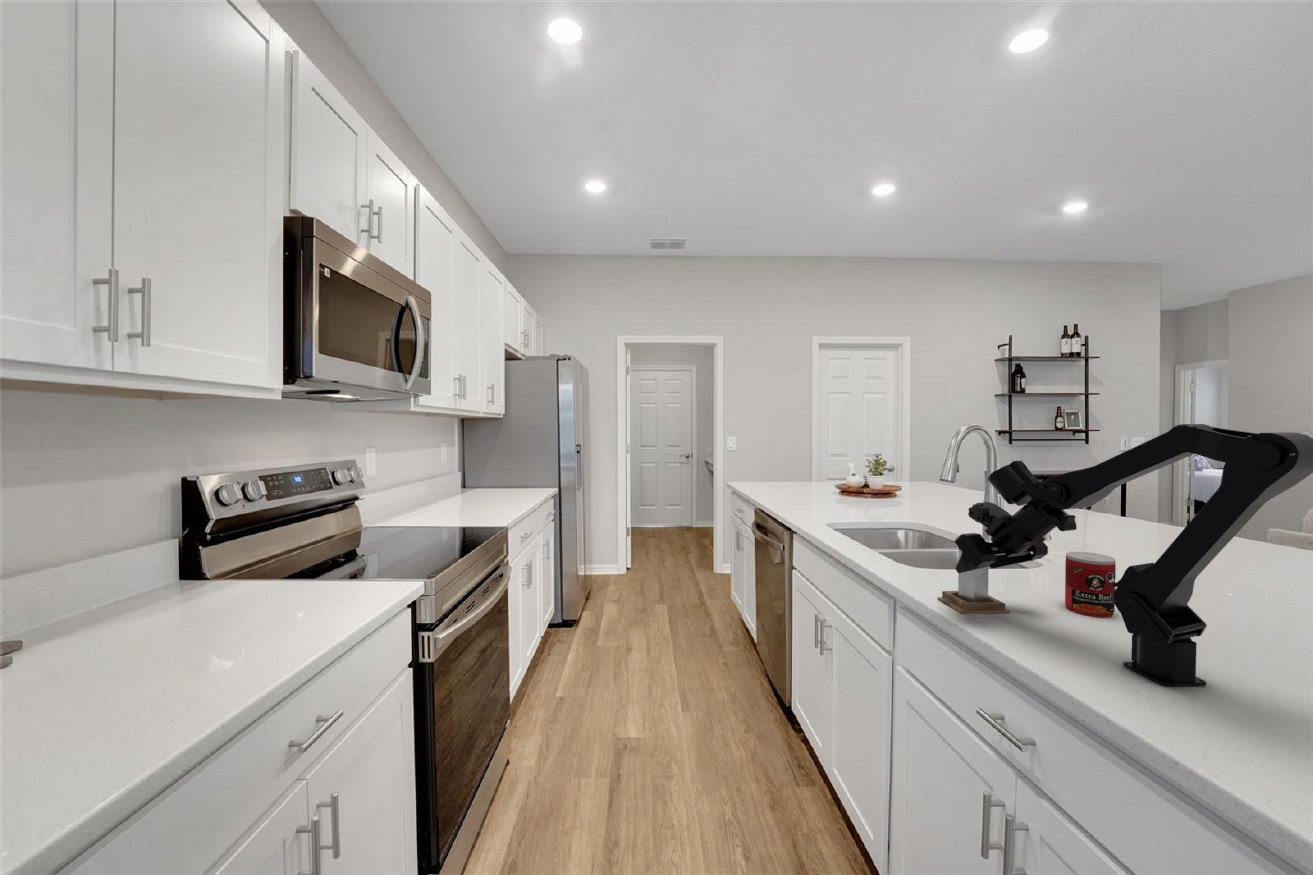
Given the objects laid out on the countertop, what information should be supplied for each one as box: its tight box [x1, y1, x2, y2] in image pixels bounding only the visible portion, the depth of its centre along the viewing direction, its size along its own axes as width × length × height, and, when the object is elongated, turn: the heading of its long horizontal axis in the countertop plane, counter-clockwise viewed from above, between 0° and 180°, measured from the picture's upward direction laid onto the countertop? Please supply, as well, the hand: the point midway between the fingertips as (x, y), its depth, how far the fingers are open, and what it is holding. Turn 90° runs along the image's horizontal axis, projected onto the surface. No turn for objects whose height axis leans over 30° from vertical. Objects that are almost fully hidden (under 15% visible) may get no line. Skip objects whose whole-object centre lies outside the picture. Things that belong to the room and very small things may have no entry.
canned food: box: [1064, 551, 1117, 618], centre depth 102 cm, size 8×8×11 cm
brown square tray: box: [937, 590, 1011, 614], centre depth 105 cm, size 8×10×2 cm
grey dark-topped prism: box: [957, 540, 990, 602], centre depth 105 cm, size 4×4×13 cm
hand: (973, 568), depth 105 cm, fingers open, 9 cm apart
